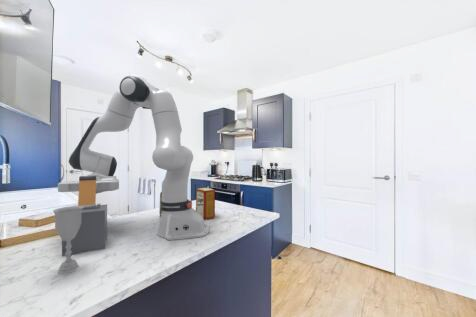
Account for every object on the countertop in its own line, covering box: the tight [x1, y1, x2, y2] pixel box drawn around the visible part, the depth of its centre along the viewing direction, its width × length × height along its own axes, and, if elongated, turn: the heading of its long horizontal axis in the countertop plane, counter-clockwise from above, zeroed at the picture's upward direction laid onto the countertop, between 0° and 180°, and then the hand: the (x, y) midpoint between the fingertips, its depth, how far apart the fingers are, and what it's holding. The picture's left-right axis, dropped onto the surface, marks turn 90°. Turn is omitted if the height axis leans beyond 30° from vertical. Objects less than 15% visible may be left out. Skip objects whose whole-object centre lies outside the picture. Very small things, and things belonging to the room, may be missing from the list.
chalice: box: [52, 205, 83, 275], centre depth 60 cm, size 7×7×18 cm
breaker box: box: [61, 203, 108, 257], centre depth 75 cm, size 10×12×15 cm
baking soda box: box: [195, 187, 216, 221], centre depth 113 cm, size 10×6×16 cm
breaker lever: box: [77, 175, 97, 209], centre depth 75 cm, size 2×5×12 cm, turn 119°
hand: (87, 188), depth 76 cm, fingers closed, pressing on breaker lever
